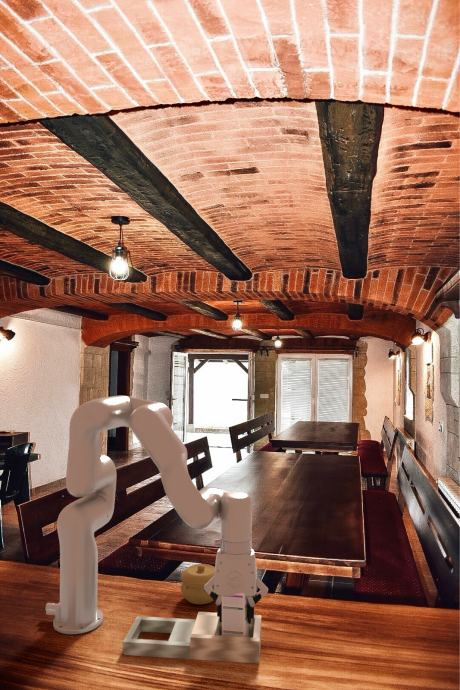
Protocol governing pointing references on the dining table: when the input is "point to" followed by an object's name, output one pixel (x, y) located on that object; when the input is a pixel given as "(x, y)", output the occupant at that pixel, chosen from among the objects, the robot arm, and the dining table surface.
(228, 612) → the syrup box
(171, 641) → the rack
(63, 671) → the dining table surface
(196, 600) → the beige rounded piece
